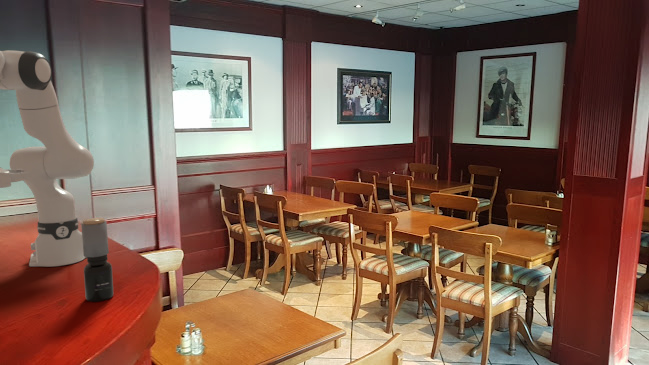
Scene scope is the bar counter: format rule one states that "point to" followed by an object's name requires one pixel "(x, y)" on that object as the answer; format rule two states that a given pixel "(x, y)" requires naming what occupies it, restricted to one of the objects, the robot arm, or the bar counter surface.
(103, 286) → the supplement bottle
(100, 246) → the sugar jar
